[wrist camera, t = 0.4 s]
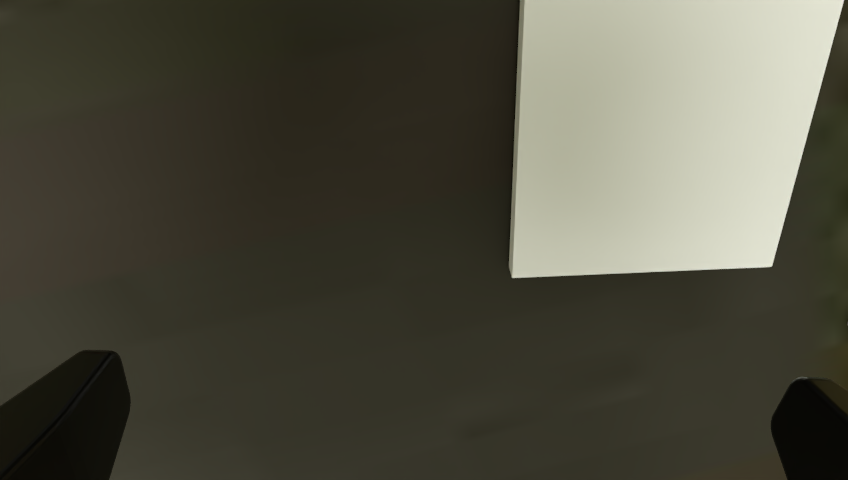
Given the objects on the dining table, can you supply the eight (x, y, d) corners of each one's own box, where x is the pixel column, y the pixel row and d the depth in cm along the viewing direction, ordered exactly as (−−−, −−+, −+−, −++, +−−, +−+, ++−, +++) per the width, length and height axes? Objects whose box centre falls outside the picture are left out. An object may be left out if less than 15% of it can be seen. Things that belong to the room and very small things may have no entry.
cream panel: (760, 256, 24) (771, 266, 24) (508, 267, 24) (512, 277, 23) (831, -17, 20) (847, -14, 19) (520, -6, 19) (524, -4, 19)
